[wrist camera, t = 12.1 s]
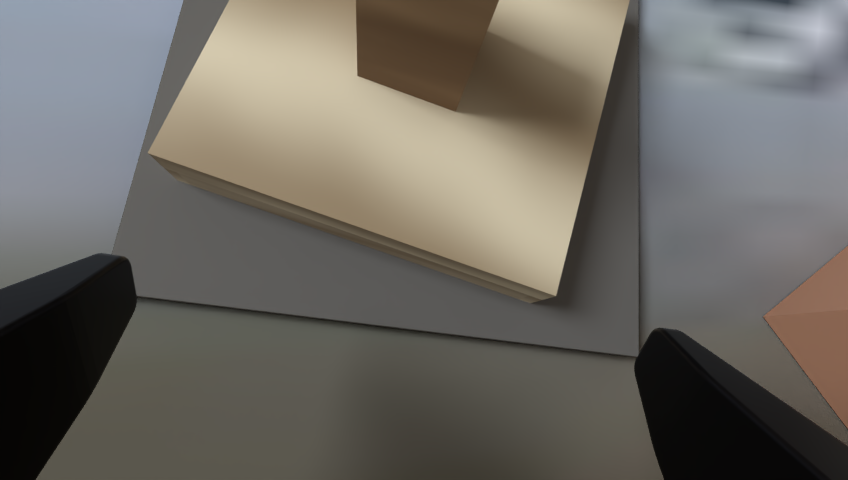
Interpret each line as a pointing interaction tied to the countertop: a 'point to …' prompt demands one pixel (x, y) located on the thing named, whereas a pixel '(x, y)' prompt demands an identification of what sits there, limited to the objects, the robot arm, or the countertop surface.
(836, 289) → the storage box
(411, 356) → the countertop surface
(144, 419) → the countertop surface
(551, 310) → the mat
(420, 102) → the lid
